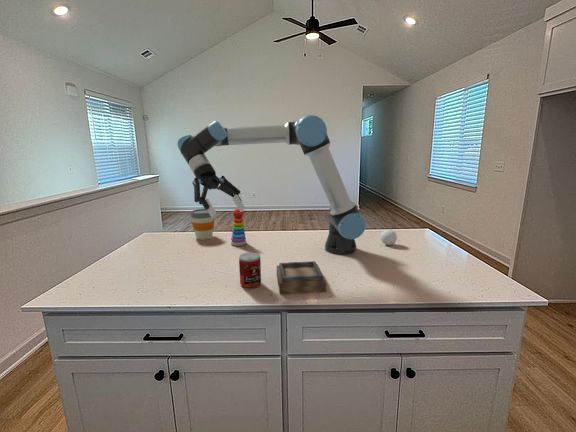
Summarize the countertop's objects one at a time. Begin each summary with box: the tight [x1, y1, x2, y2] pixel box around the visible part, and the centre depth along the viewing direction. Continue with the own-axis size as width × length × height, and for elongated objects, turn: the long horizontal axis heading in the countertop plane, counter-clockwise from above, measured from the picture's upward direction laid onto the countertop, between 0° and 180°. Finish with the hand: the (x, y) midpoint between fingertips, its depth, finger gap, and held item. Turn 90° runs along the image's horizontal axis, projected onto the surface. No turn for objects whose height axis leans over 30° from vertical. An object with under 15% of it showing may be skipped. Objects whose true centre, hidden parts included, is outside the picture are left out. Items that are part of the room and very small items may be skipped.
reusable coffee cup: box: [190, 208, 215, 240], centre depth 169 cm, size 13×13×15 cm
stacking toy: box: [230, 208, 247, 247], centre depth 156 cm, size 8×8×19 cm
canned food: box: [238, 252, 262, 290], centre depth 110 cm, size 8×8×11 cm
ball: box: [380, 229, 398, 246], centre depth 154 cm, size 8×8×8 cm
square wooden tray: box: [276, 260, 327, 295], centre depth 111 cm, size 16×16×6 cm
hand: (229, 212), depth 112 cm, fingers open, 13 cm apart
